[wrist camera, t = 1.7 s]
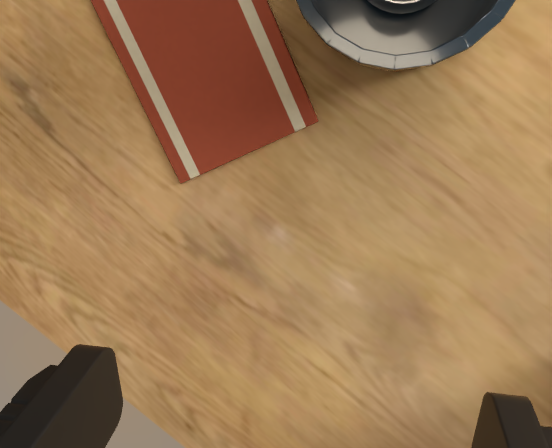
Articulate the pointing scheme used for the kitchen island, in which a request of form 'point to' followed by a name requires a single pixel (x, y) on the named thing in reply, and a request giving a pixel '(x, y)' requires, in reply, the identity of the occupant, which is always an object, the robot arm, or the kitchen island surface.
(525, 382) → the kitchen island surface
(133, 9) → the towel
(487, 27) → the pot
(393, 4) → the metal water bottle
